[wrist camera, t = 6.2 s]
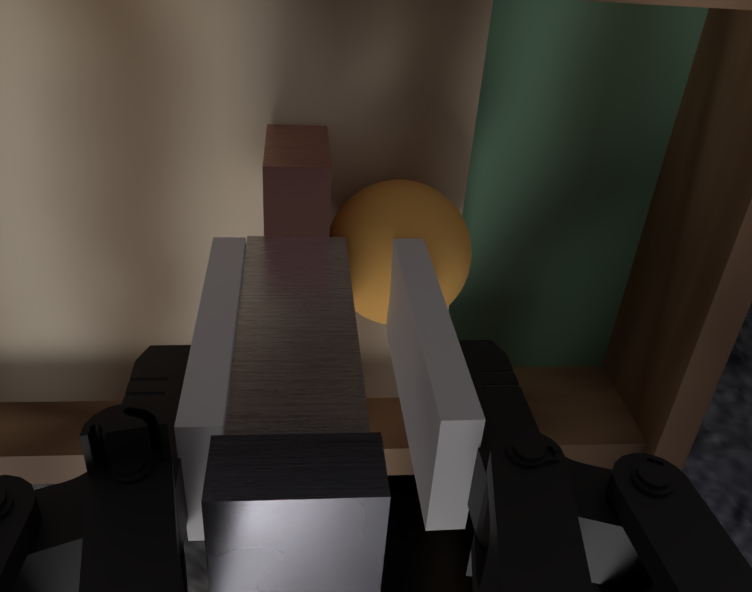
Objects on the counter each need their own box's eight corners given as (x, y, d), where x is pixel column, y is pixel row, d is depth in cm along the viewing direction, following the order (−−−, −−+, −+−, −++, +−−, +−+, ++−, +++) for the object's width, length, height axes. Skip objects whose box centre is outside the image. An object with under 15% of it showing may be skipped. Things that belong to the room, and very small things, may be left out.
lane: (-133, 392, 25) (-221, 503, 21) (-353, -139, 16) (-578, -135, 12) (620, 385, 28) (678, 479, 24) (764, -62, 20) (892, -38, 15)
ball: (296, 322, 20) (422, 373, 18) (295, 189, 18) (438, 232, 16) (370, 267, 23) (484, 306, 21) (377, 148, 21) (504, 180, 19)
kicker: (257, 311, 22) (222, 720, 12) (251, 123, 19) (196, 456, 8) (334, 311, 22) (367, 710, 12) (341, 126, 19) (395, 451, 9)
